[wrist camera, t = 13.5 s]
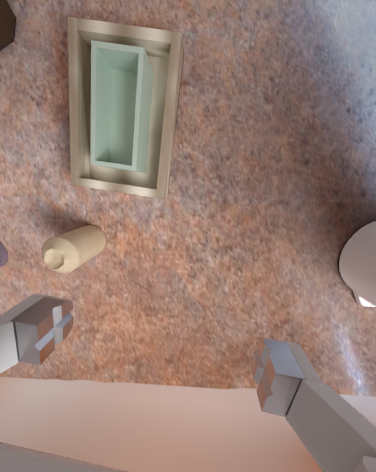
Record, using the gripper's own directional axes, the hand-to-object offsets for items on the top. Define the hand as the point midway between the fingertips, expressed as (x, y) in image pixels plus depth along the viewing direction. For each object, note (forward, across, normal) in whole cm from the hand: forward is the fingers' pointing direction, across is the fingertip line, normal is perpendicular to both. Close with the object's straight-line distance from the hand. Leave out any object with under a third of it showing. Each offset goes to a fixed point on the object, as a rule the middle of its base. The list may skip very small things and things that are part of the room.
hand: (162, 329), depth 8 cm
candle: (+26, +18, +7) cm, 32 cm away
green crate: (+25, +12, -13) cm, 31 cm away
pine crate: (+26, +12, -13) cm, 32 cm away
